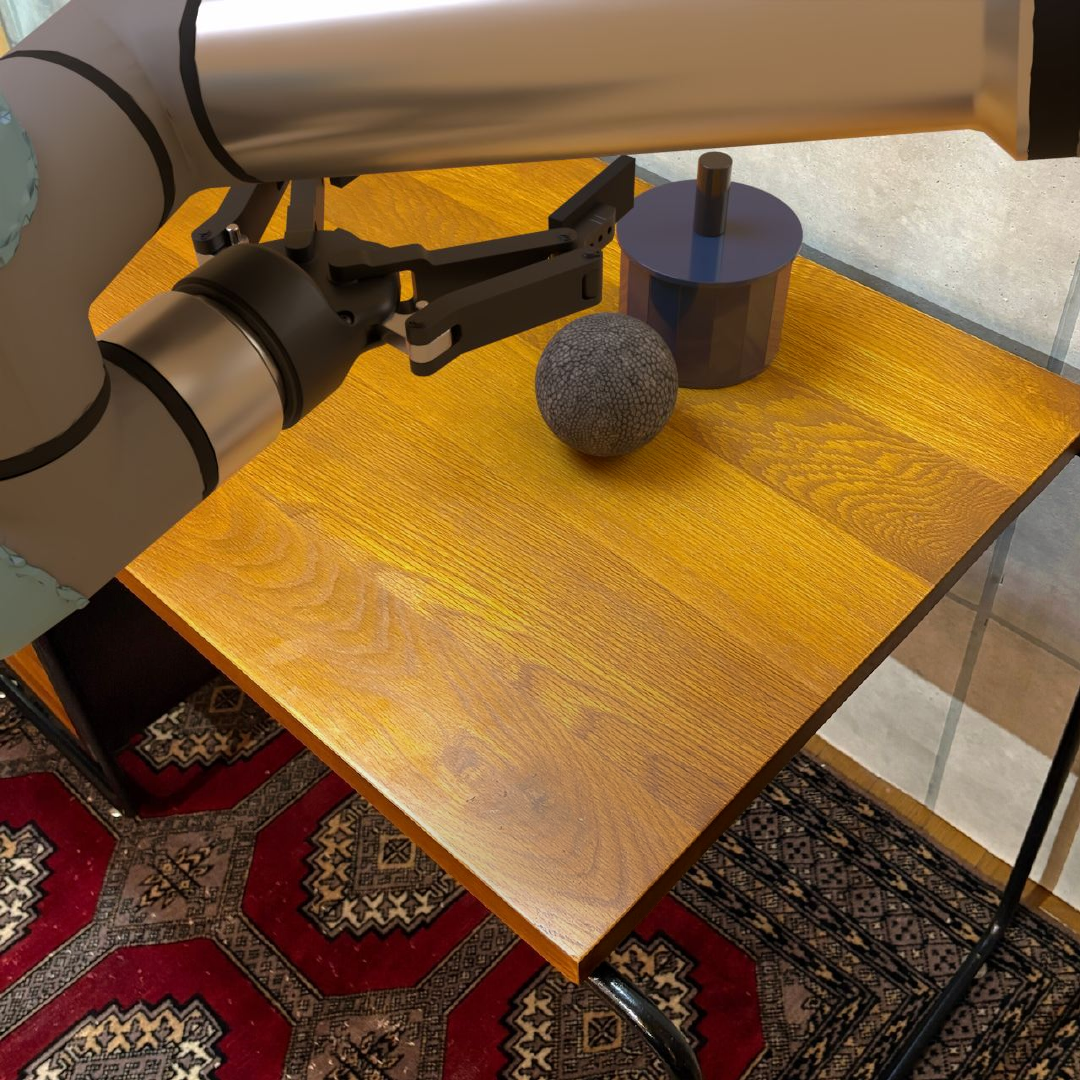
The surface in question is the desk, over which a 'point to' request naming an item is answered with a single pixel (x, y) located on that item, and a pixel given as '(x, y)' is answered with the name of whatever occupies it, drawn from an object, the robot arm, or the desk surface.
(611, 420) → the decorative ball
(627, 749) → the desk surface
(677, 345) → the pot
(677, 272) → the pot lid
